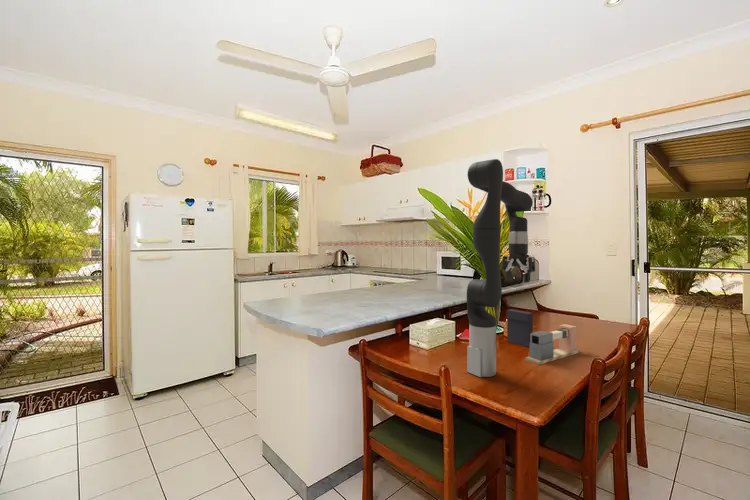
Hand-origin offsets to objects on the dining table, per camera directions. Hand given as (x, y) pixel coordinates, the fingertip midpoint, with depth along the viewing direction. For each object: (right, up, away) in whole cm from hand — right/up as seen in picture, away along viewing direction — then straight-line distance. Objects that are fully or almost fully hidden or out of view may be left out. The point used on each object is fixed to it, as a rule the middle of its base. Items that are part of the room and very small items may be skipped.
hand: (517, 281), depth 147 cm
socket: (+21, -30, +1) cm, 37 cm away
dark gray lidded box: (+6, -30, +13) cm, 33 cm away
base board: (+13, -30, -4) cm, 33 cm away
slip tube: (+15, -23, -3) cm, 28 cm away
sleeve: (+6, -30, -9) cm, 32 cm away
